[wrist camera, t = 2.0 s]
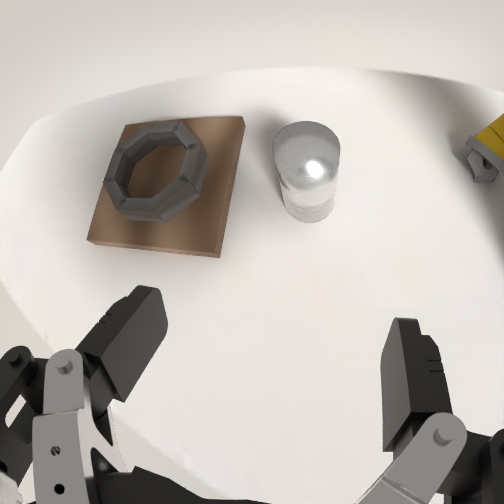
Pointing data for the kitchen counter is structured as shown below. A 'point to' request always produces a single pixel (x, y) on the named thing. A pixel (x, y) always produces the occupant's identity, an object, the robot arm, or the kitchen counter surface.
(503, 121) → the drill bit
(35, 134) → the kitchen counter surface
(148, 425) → the kitchen counter surface
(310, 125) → the steel peg
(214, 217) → the socket board
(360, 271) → the kitchen counter surface
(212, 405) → the kitchen counter surface
